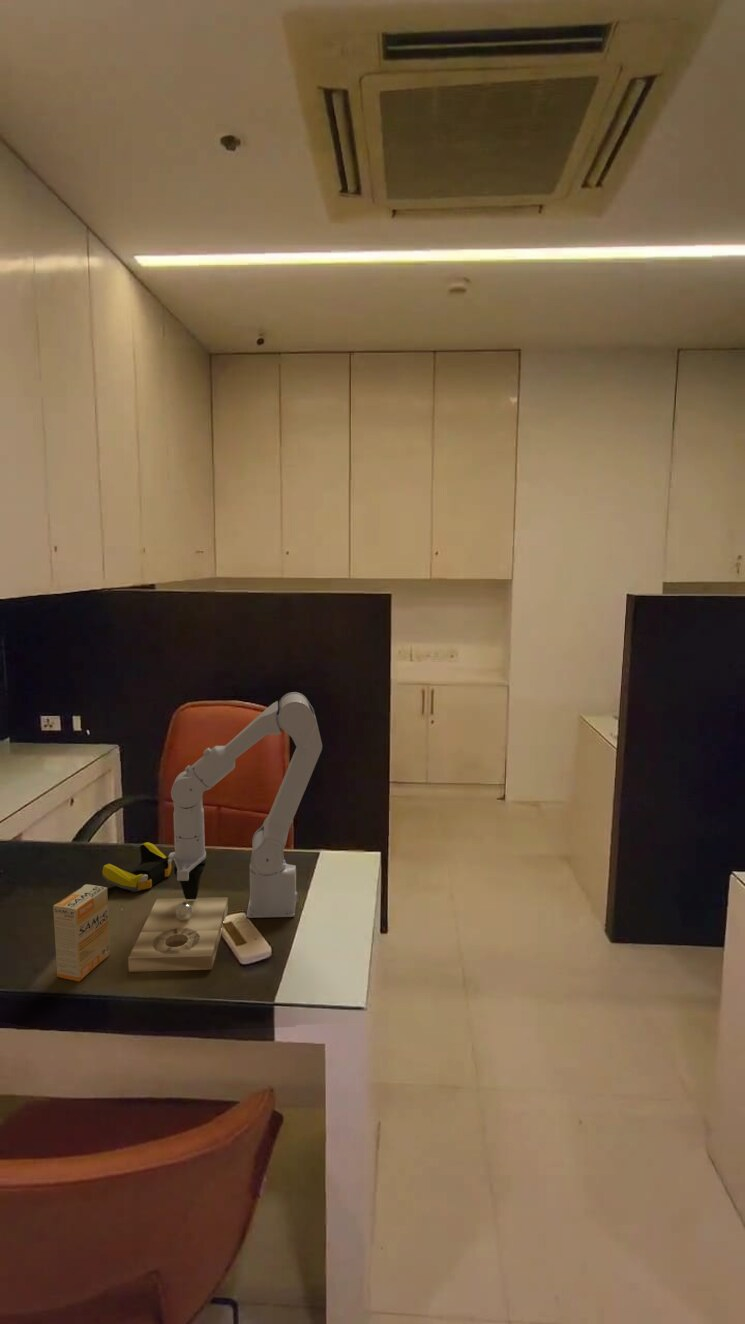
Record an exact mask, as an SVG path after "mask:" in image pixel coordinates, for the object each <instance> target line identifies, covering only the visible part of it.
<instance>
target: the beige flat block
mask: <svg viewBox="0 0 745 1324" xmlns="http://www.w3.org/2000/svg"><path fill="white" fill-rule="evenodd" d="M181 903H189V904H190V905H191V906H192V908H193V914H192V916H191V917H190V918H189V919H188V920H185V921H181V920H179V919H178V918H177V917H176V914H175V911H176V908H177V906H178V905H179V904H181ZM228 911H229V897H227V896H226V897H225V896H224V897H223V896H220V897H196V899H185V897H179V898H177V897H176V898H175V897H174V898H156V900H155V902H154V904H153V906H152V908H151V911H150V913H149V914H148V916H147V919H146V921H145V923H144V925H143V926H142V929H141V931H140V932H139V934H138V937H137V939H136V941H135V943H134V946H133V948H132V949H131V952H130V954H129V955H128V958H127V959H128V972H129V973H130V972H135V973H136V972H166V971H201V970H202V971H204V970H206V971H207V970H213V967H214V963H215V960H216V955H217V952H218V948H219V945H220V941H221V937H222V934H221V928H222V924H223V921H224V919H225V917H226V918H227V915H228ZM225 920H226V919H225Z"/></svg>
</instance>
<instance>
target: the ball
mask: <svg viewBox="0 0 745 1324" xmlns="http://www.w3.org/2000/svg"><path fill="white" fill-rule="evenodd" d="M175 914H176V917H177V918H178V919H179V920H181V921H185V920H188V919H189V918H190V917H191V916H192V914H193V908H192V906H191V905H190V904H189V903H181V904H179V905H178V906H177V908H176V911H175Z"/></svg>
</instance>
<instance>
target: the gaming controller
mask: <svg viewBox="0 0 745 1324" xmlns="http://www.w3.org/2000/svg"><path fill="white" fill-rule="evenodd" d="M139 856H140V863H139V864H138V865H137V866H135V867H134V868H132V869H130V870H129V871H126V870H125V869H121V868H119V867H117V866H115V865H113V864H111V863H107V864H104V865H103V867H102V872H101V875H102V878H103V879H104V880H105V881H106V882H107V883H108V884H111V885H113V886H116V887H118V888H120V889H124V890H129V891H131V892H134V893H135V892H140V891H144V890H147V889H152V887H153V886H155V885H156V884H158V883H159V882H161V881H162V880H164V879H165V878H167V877H169V876H170V874H171V871H172V862H173V860H170V859H169V856H166V855H165V854H164V853H163V852H162V851H160V849H159V848H158V847H157V846H156V845H154V843H151V842H144V843H142V844H139Z"/></svg>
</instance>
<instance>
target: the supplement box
mask: <svg viewBox="0 0 745 1324" xmlns="http://www.w3.org/2000/svg"><path fill="white" fill-rule="evenodd" d="M108 903H109V902H108V887H105V886H101V885H95V884H90V883H89V884H87V883H86V884H84V885H83V886H81V887H80V888H78V889H76V890H75V891H73V892H72V893H70V894H69V895H68V896H66V897H64V898H63V899H61V900H60V901H58V902H57V903H55V904H54V905H53V906H52V909H53V910H52V911H53V926H54V942H55V943H54V944H55V958H56V959H55V961H56V976H57V977H58V978H60V979H66V980H70V981H75V982H81V981H82V980H83V979H84V978H85V977H86V976H87V975H88V974H90V972H92V971H93V970H94V969H95V968H97V967H98V965H99V964H101V963H102V962H103V961H105V960H106V959H107V958H108V957H110V954H111V952H110V950H111V949H110V928H109V927H110V925H109V924H110V923H109V922H110V921H109V906H108Z"/></svg>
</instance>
